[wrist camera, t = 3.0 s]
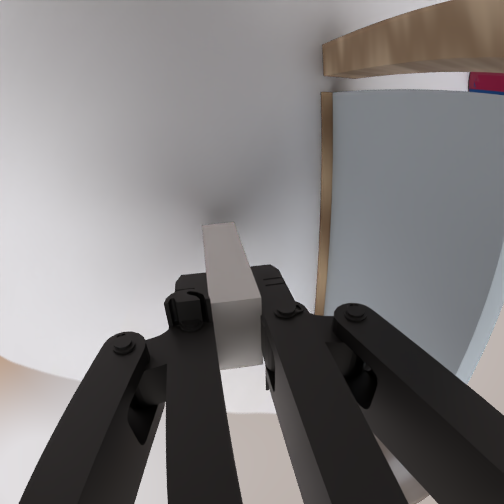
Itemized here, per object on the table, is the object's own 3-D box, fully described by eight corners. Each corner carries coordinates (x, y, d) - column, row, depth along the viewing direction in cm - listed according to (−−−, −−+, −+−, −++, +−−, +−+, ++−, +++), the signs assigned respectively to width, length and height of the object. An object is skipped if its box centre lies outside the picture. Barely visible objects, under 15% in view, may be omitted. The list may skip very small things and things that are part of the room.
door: (353, 317, 24) (441, 447, 12) (322, 323, 23) (401, 466, 12) (371, 95, 17) (557, 115, 6) (332, 92, 17) (520, 97, 5)
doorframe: (319, 44, 15) (554, -19, 2) (355, 48, 16) (589, 21, 2) (307, 386, 27) (368, 535, 13) (332, 381, 27) (400, 522, 14)
